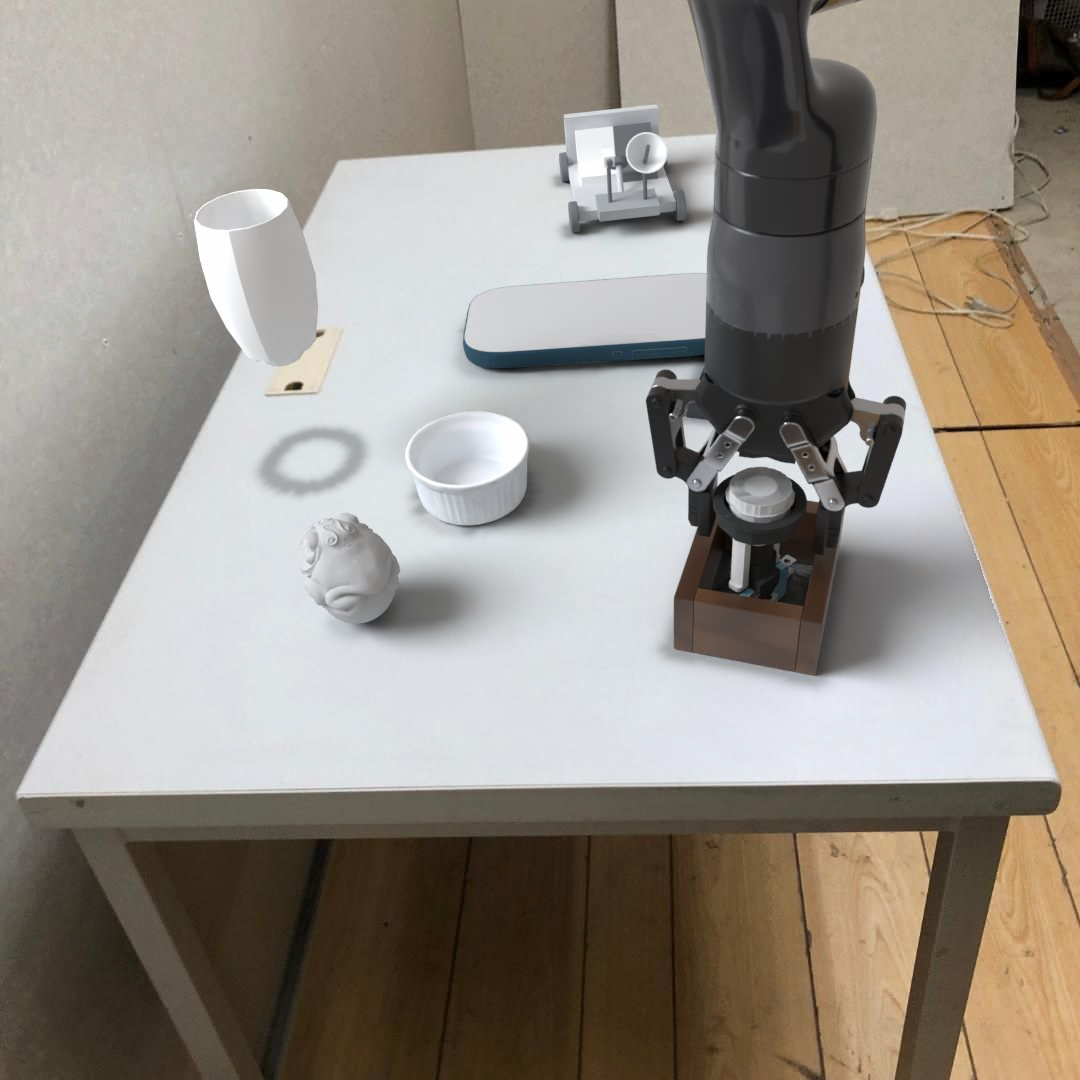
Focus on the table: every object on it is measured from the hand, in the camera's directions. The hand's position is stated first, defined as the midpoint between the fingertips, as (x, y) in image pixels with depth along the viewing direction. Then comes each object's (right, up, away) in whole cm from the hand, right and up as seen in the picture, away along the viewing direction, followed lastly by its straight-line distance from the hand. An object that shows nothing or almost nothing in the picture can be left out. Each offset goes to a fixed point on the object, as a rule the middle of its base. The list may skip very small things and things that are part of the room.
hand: (763, 535), depth 64 cm
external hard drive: (-8, +18, +29) cm, 35 cm away
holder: (+1, -4, +4) cm, 6 cm away
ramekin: (-18, +3, +14) cm, 24 cm away
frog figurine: (-25, -5, +6) cm, 27 cm away
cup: (-31, +6, +19) cm, 37 cm away
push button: (+1, -4, +4) cm, 6 cm away
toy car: (-5, +35, +48) cm, 59 cm away
